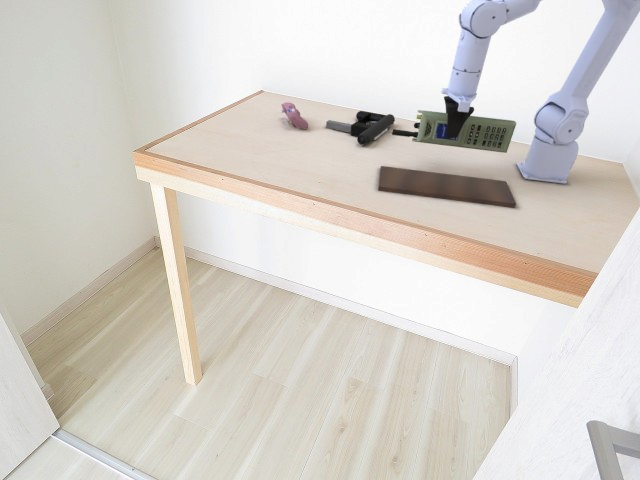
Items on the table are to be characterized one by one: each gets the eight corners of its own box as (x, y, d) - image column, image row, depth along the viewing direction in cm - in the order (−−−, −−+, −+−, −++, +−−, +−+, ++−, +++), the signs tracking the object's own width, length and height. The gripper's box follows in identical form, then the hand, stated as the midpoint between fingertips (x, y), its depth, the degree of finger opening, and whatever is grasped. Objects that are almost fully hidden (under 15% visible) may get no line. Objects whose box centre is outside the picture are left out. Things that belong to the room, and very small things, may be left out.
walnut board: (505, 184, 93) (506, 181, 93) (514, 207, 85) (516, 203, 85) (380, 169, 96) (380, 165, 96) (378, 190, 88) (378, 186, 87)
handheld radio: (507, 154, 90) (391, 140, 93) (504, 148, 92) (391, 135, 95) (517, 124, 86) (395, 110, 89) (514, 119, 89) (396, 105, 91)
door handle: (315, 125, 110) (371, 136, 103) (349, 105, 124) (400, 114, 117) (315, 137, 112) (370, 149, 105) (348, 116, 126) (399, 126, 119)
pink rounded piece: (287, 123, 121) (276, 101, 116) (300, 115, 120) (290, 93, 116) (295, 136, 113) (284, 114, 109) (310, 128, 113) (299, 105, 108)
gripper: (444, 58, 89) (430, 120, 97) (449, 76, 78) (434, 144, 86) (477, 62, 89) (461, 124, 96) (488, 80, 77) (469, 149, 85)
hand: (450, 134), depth 91 cm, fingers closed on handheld radio, 3 cm apart
